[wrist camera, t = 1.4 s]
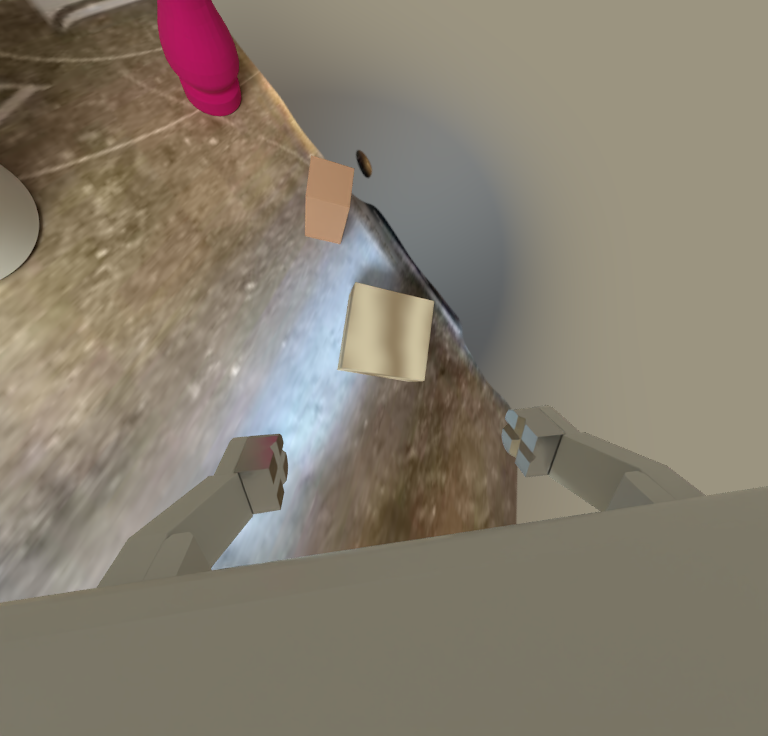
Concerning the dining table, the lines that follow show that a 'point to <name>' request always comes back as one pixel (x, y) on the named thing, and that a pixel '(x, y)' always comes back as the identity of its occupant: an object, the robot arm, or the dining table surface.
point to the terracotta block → (327, 199)
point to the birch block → (386, 334)
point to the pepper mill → (200, 54)
